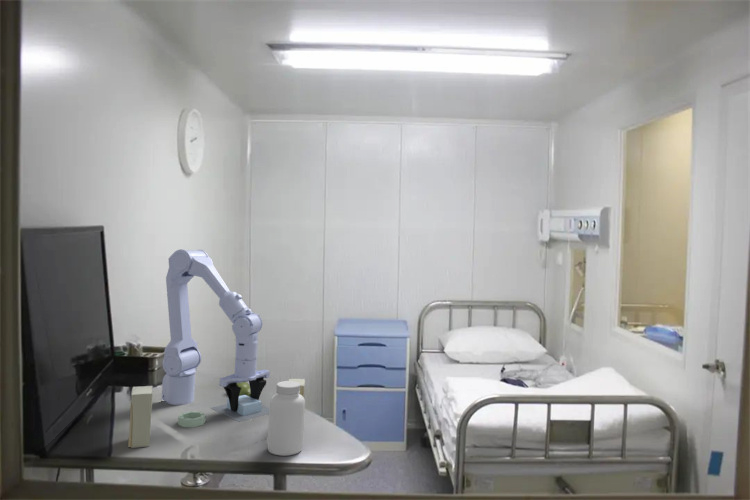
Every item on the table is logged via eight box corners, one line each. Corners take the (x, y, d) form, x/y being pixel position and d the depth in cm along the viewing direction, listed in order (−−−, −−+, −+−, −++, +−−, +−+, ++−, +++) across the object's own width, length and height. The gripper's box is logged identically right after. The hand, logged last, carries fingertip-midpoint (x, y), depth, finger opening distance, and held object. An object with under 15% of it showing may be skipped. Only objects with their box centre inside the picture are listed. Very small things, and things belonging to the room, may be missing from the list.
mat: (210, 412, 133) (210, 407, 133) (248, 403, 142) (248, 399, 142) (238, 426, 123) (239, 421, 123) (277, 415, 132) (277, 411, 132)
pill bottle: (295, 458, 106) (298, 390, 106) (261, 454, 108) (264, 386, 108) (307, 444, 114) (310, 380, 114) (275, 440, 115) (278, 377, 115)
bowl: (174, 427, 121) (174, 415, 121) (196, 421, 125) (197, 409, 125) (186, 433, 117) (186, 421, 117) (208, 427, 121) (209, 415, 121)
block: (226, 408, 133) (227, 398, 133) (244, 403, 137) (244, 394, 137) (243, 415, 128) (243, 405, 128) (261, 411, 132) (261, 401, 132)
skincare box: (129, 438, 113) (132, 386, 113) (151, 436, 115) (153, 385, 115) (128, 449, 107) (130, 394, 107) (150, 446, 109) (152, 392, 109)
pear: (243, 375, 150) (260, 388, 144) (240, 392, 151) (258, 405, 144) (226, 378, 146) (244, 391, 140) (224, 395, 147) (241, 409, 140)
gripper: (230, 365, 124) (228, 418, 124) (276, 357, 135) (274, 406, 135) (216, 360, 129) (213, 411, 129) (261, 352, 140) (259, 400, 140)
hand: (244, 408), depth 132 cm, fingers closed on block, 6 cm apart
